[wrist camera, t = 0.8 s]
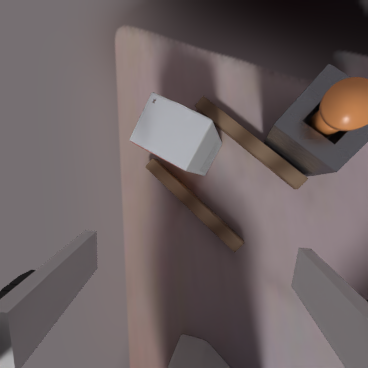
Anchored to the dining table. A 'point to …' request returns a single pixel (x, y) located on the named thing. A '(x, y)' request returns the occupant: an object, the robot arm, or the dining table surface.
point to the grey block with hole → (314, 132)
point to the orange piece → (342, 107)
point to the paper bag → (195, 354)
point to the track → (246, 142)
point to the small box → (177, 135)
